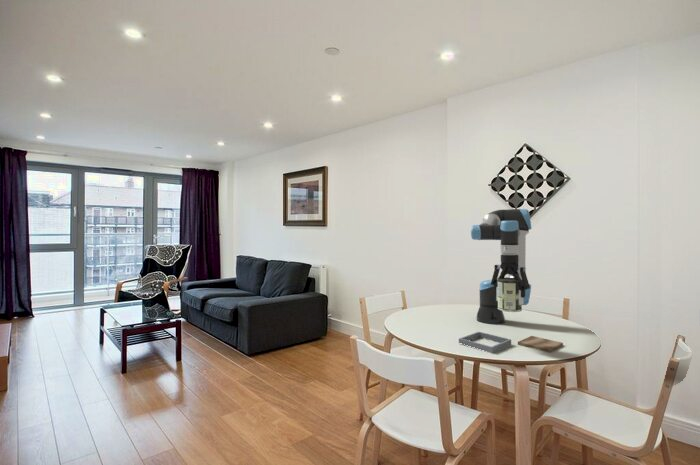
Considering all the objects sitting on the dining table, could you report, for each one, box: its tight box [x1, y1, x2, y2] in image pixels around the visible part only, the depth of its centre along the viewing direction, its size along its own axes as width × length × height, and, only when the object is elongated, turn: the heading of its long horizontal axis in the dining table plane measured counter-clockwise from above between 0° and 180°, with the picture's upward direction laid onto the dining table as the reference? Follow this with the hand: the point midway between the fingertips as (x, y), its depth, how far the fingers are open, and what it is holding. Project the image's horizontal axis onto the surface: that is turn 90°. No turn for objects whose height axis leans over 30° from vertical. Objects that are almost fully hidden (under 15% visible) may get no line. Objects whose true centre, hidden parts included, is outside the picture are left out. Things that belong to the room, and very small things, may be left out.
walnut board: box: [517, 335, 564, 353], centre depth 166 cm, size 14×14×1 cm
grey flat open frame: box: [458, 331, 512, 354], centre depth 168 cm, size 17×17×2 cm
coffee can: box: [497, 276, 523, 313], centre depth 167 cm, size 10×10×14 cm
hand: (509, 302), depth 167 cm, fingers closed on coffee can, 10 cm apart
